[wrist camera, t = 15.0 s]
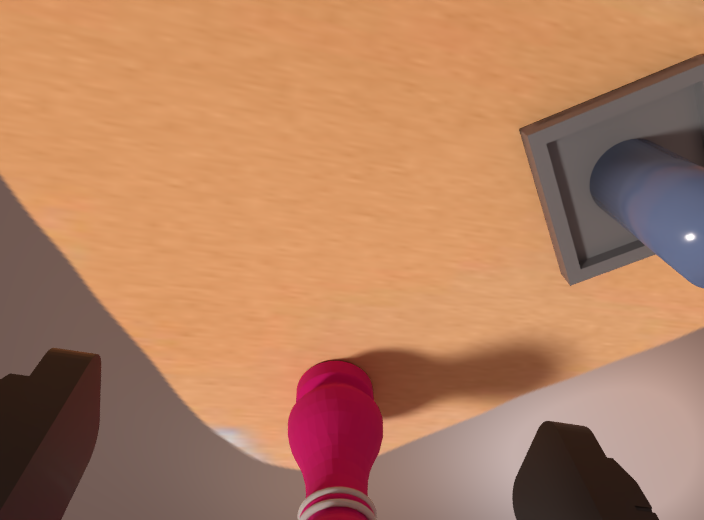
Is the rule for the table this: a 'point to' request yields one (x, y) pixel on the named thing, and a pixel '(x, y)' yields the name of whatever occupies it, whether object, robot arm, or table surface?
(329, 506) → the pepper mill
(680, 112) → the tray
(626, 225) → the blue-grey cylinder
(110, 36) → the table surface
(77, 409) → the robot arm
